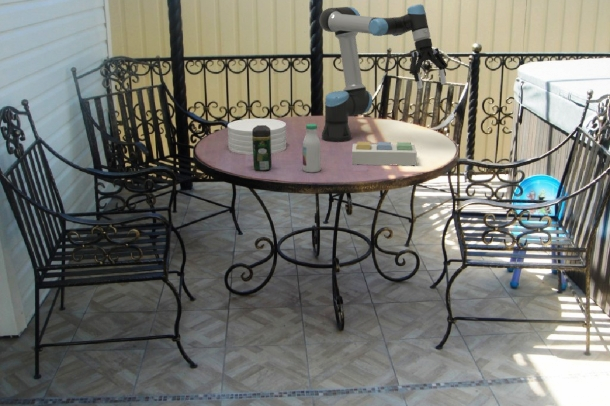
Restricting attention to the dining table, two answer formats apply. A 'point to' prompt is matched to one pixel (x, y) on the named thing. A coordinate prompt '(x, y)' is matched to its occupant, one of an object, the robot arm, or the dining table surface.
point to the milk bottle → (311, 150)
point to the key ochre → (364, 145)
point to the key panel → (384, 156)
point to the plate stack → (242, 135)
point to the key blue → (383, 145)
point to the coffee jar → (261, 148)
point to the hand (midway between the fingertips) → (432, 86)
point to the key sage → (404, 146)
